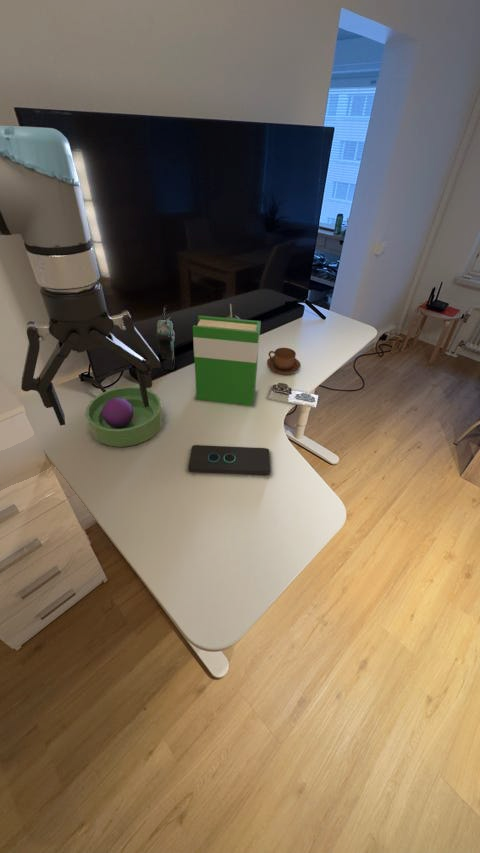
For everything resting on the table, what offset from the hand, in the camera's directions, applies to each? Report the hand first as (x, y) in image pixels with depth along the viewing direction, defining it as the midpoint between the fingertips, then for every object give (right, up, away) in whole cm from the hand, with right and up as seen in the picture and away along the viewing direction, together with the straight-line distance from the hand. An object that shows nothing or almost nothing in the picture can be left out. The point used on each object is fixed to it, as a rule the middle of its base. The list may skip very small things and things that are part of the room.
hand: (105, 411), depth 59 cm
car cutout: (+40, +6, +51) cm, 65 cm away
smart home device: (+20, -12, +29) cm, 37 cm away
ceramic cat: (-3, +22, +67) cm, 70 cm away
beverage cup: (+20, +24, +70) cm, 76 cm away
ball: (-10, +1, +34) cm, 36 cm away
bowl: (-9, -2, +38) cm, 39 cm away
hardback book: (+19, +7, +50) cm, 54 cm away
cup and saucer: (+39, +18, +65) cm, 77 cm away
